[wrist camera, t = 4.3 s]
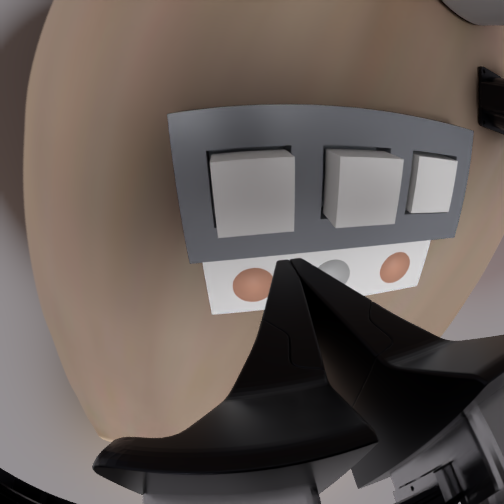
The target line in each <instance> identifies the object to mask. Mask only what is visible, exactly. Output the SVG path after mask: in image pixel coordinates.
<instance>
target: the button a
mask: <svg viewBox="0 0 504 504" xmlns="http://www.w3.org/2000/svg"><path fill="white" fill-rule="evenodd" d="M210 169H211V179H212V189H213V198H214V207H215V216H216V225H217V233H218V238H226V237H236V236H247V235H259V234H270V233H282V232H294V213H295V157H294V156H293V155H292V154H291V153H289V152H288V151H287V150H286V149H277V150H257V151H242V152H229V153H218V154H212V155H211V159H210Z"/></svg>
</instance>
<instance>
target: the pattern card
mask: <svg viewBox="0 0 504 504" xmlns="http://www.w3.org/2000/svg"><path fill="white" fill-rule="evenodd" d="M430 241H431V240H426V241H416V242H407V243H397V244H387V245H378V246H368V247H358V248H348V249H338V250H328V251H318V252H308V253H297V254H287V255H277V256H266V257H256V258H245V259H234V260H224V261H213V262H202V263H203V268H204V274H205V280H206V285H207V291H208V296H209V301H210V306H211V312H212V315H214V314H226V313H237V312H247V311H257V310H264V309H265V305H266V301H267V297H268V294H269V290H270V286H271V282H272V278H273V274H274V270H275V266H276V262H277V261H278V260H286V259H288V260H290V259H295V258H302V259H304V260H306V261H307V262H309V263H311V264H312V265H314V266H316V267H317V268H319V269H321V270H322V271H324V272H326V273H327V274H329V275H331V276H332V277H334V278H336V279H337V280H339V281H340V282H342V283H344V284H345V285H347V286H349V287H350V288H352V289H354V290H355V291H357V292H358V293H360V294H362V295H363V296H366V295H371V294H377V293H383V292H388V291H393V290H399V289H404V288H409V287H414V286H417V284H418V281H419V278H420V275H421V272H422V268H423V265H424V262H425V259H426V255H427V252H428V248H429V245H430Z"/></svg>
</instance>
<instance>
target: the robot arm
mask: <svg viewBox="0 0 504 504" xmlns="http://www.w3.org/2000/svg"><path fill="white" fill-rule="evenodd" d="M479 124H480V126H483V127H486V128H488V129H491V130H494V131H496V132H499V133H501V134H504V79H503V78H501V77H500V76H498V75H497V74H495V73H493V72H492V71H490V70H488V69H487V68H485V67H481V66H480V67H479ZM371 302H372V301H371V300H370V299H368V298H367V297H365V296H363V295H362V294H360V293H358V292H357V291H355V290H354V289H352V288H350V287H349V286H347V285H345V284H344V283H342V282H340V281H339V280H337V279H336V278H334V277H332V276H331V275H329V274H327V273H326V272H324V271H322V270H321V269H319V268H317V267H316V266H314V265H312V264H311V263H309V262H307V261H306V260H304V259H302V258H295V259H290V260H288V259H286V260H278V261H277V262H276V266H275V270H274V274H273V278H272V282H271V286H270V290H269V294H268V297H267V301H266V305H265V309H264V313H263V317H262V321H261V324H260V328H259V331H258V334H257V337H256V340H255V343H254V345H253V347H252V350H251V352H250V354H249V356H248V358H247V360H246V362H245V364H244V366H243V368H242V370H241V372H240V374H239V376H238V378H237V380H236V382H235V384H234V386H233V388H232V390H231V391H230V393H229V395H228V396H227V397H226V399H225V400H224V401H223V402H222V403H220V404H219V405H218V406H217V407H215V408H214V409H213V410H212V411H210V412H209V413H208V414H206V415H205V416H204V417H202V418H201V419H200V420H198V421H197V422H196V423H194V424H193V425H191V426H190V427H189V428H187V429H186V430H184V431H182V432H181V433H179V434H176V435H173V436H169V437H164V438H142V437H122V438H119V439H116V440H114V441H113V442H112V443H111V444H109V445H108V446H107V447H106V448H105V449H103V451H101V453H100V454H99V455H98V456H97V458H96V460H95V461H94V463H93V466H92V468H93V470H94V471H95V472H96V473H97V474H99V475H100V476H103V477H104V478H106V479H108V480H110V481H112V482H114V483H117V484H118V485H121V486H123V487H125V488H127V489H129V490H132V491H134V492H137V493H139V494H141V495H143V504H321V501H320V497H319V494H320V493H321V492H322V491H324V490H325V489H326V488H328V487H329V486H330V485H331V484H333V483H334V482H335V481H337V480H338V479H339V478H340V477H341V476H342V475H344V474H345V473H346V472H347V471H348V470H350V469H351V470H352V473H353V476H354V478H355V482H356V484H357V487H358V489H359V488H362V487H365V486H367V485H370V484H373V483H375V482H378V481H381V480H383V479H385V478H388V477H390V476H391V479H392V481H393V484H394V487H395V491H393V494H394V497H395V500H396V503H395V504H458V503H459V502H461V504H504V335H499V336H493V337H486V338H480V339H471V340H463V341H450V340H445V339H442V338H440V337H438V336H436V335H434V334H432V333H430V332H428V331H426V330H424V329H422V328H420V327H418V326H416V325H414V324H412V323H410V322H408V321H406V320H404V319H402V318H400V317H399V316H397V315H395V314H393V313H391V312H390V311H388V310H386V309H385V308H383V307H381V306H380V305H378V304H376V303H375V302H372V303H371ZM0 504H76V503H73V502H70V501H67V500H64V499H62V498H59V497H57V496H54V495H52V494H49V493H47V492H44V491H42V490H40V489H38V488H36V487H34V486H32V485H30V484H28V483H26V482H24V481H22V480H20V479H18V478H16V477H14V476H13V475H11V474H10V473H8V472H6V471H4V470H3V469H1V468H0Z"/></svg>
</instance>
